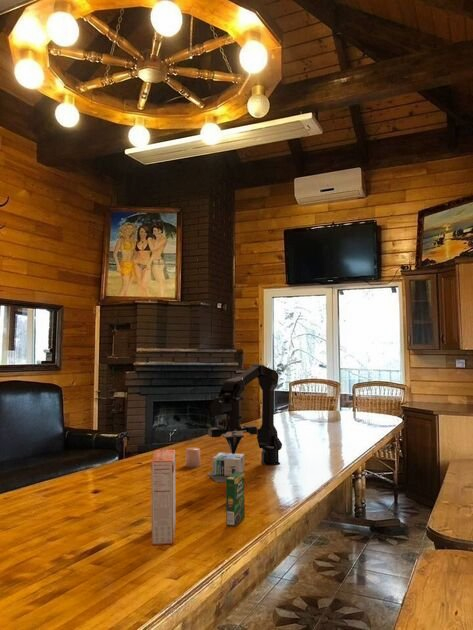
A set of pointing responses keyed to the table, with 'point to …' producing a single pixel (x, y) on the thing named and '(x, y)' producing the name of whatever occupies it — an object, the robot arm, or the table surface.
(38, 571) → the table surface
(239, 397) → the robot arm
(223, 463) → the light bulb box
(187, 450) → the pink rounded capsule
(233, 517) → the coffee box
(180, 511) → the table surface
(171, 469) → the cracker box
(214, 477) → the mat
